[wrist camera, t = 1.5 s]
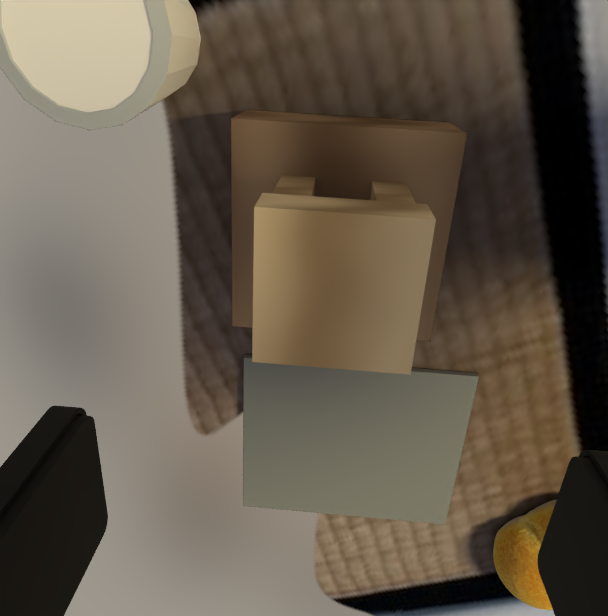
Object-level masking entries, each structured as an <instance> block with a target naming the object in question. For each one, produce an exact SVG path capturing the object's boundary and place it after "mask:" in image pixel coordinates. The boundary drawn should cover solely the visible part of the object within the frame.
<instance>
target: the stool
mask: <svg viewBox="0 0 608 616" xmlns="http://www.w3.org/2000/svg"><path fill="white" fill-rule="evenodd" d="M314 193H315V177H301V176H286V175H282V176H281V178H280V180H279V181H278V183H277V185H276V187H275V189H274V191H273V193H262V194H261V196H260V198H259V200H258V201H257V203H256V205H255V206H254V260H253V337H252V362H259V363H271V364H284V365H296V366H309V367H321V368H334V369H346V370H358V371H371V372H383V373H396V374H408V375H411V369H412V363H413V357H414V351H415V345H416V339H417V333H418V327H419V320H420V314H421V308H422V302H423V296H424V290H425V284H426V278H427V272H428V266H429V259H430V253H431V247H432V241H433V235H434V229H435V223H436V219H435V217H434V215H433V213H432V212H431V210H430V208H429V206H428V204H418V203H415V200H414V198H413V196H412V194H411V192H410V190H409V188H408V186H407V184H405V183H390V182H376V181H372V186H371V196H370V200H359V199H345V198H330V197H316V196H314Z"/></svg>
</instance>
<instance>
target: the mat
mask: <svg viewBox="0 0 608 616" xmlns="http://www.w3.org/2000/svg"><path fill="white" fill-rule="evenodd" d="M478 379H479V375H478V373H471V372H458V371H446V370H433V369H421V368H412V369H411V375H408V374H396V373H383V372H371V371H358V370H346V369H334V368H321V367H309V366H296V365H284V364H271V363H259V362H252V355H246V354H245V356H244V415H243V420H244V421H243V423H244V425H243V427H244V428H243V429H244V430H243V506H249V507H260V508H272V509H282V510H293V511H304V512H315V513H326V514H337V515H348V516H359V517H370V518H381V519H392V520H403V521H414V522H425V523H436V524H445V523H446V518H447V514H448V510H449V505H450V501H451V497H452V492H453V488H454V483H455V479H456V475H457V470H458V466H459V462H460V457H461V453H462V449H463V444H464V440H465V435H466V431H467V427H468V422H469V418H470V414H471V409H472V405H473V401H474V396H475V392H476V388H477V383H478Z"/></svg>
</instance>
